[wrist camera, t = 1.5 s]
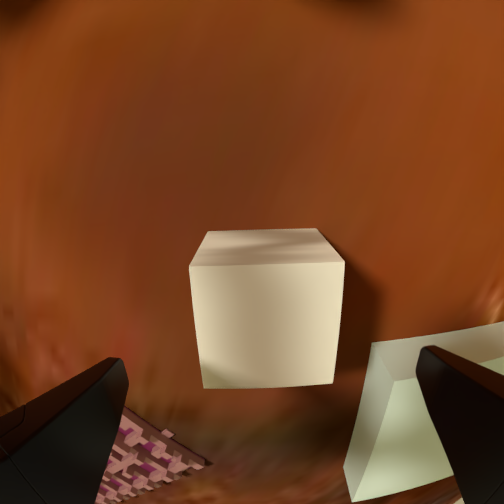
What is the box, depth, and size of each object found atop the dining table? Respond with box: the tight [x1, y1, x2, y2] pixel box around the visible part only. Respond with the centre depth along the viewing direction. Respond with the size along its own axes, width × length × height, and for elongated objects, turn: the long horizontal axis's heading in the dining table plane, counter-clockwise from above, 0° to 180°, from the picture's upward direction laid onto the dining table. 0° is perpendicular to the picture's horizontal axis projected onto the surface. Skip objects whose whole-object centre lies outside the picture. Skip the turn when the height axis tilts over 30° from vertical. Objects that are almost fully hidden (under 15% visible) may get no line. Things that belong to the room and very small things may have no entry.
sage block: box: [343, 321, 504, 502], centre depth 17 cm, size 12×12×4 cm
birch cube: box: [189, 228, 345, 388], centre depth 13 cm, size 5×5×5 cm
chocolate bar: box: [95, 406, 205, 504], centre depth 20 cm, size 7×19×2 cm, turn 134°
